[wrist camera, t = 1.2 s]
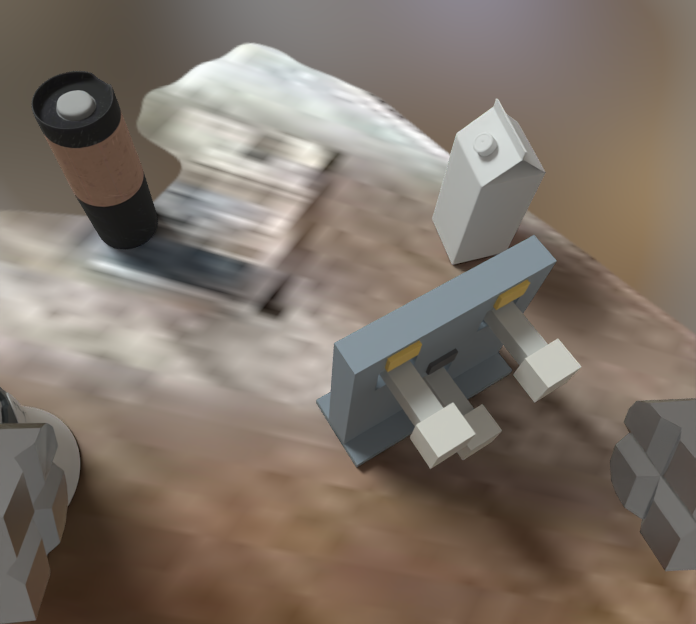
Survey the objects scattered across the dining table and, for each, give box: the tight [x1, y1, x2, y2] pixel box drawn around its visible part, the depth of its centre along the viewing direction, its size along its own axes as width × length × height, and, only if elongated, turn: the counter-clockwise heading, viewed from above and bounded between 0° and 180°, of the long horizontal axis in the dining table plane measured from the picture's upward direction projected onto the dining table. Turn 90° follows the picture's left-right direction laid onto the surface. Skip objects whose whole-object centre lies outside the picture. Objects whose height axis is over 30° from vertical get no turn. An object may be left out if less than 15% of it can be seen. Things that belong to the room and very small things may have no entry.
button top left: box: [379, 360, 476, 469], centre depth 52 cm, size 4×10×4 cm, turn 32°
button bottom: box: [423, 367, 502, 460], centre depth 62 cm, size 4×10×4 cm, turn 32°
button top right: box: [483, 301, 581, 403], centre depth 56 cm, size 4×10×4 cm, turn 32°
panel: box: [316, 235, 557, 468], centre depth 60 cm, size 20×8×20 cm, turn 122°
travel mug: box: [32, 71, 158, 249], centre depth 68 cm, size 8×8×20 cm
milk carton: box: [432, 99, 545, 265], centre depth 70 cm, size 7×7×19 cm
